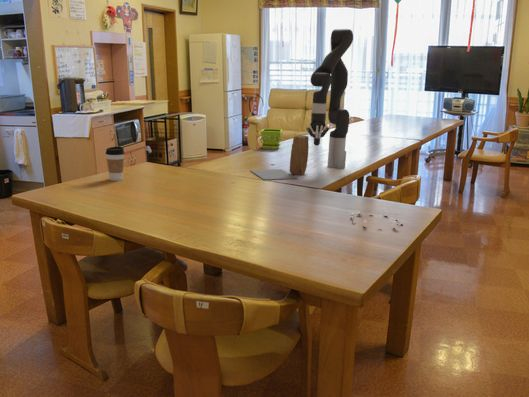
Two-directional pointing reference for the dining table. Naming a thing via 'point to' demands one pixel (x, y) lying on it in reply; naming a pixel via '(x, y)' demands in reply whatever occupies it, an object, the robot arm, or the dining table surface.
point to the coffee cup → (115, 162)
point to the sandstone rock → (299, 155)
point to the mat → (273, 174)
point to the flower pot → (271, 138)
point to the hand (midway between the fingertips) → (316, 145)
